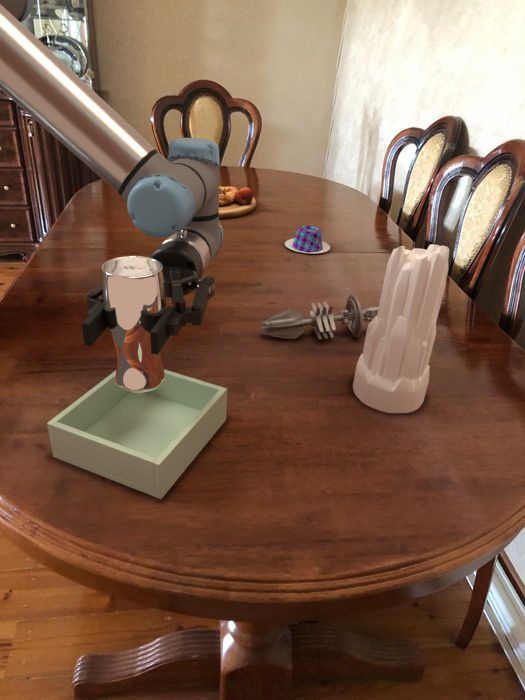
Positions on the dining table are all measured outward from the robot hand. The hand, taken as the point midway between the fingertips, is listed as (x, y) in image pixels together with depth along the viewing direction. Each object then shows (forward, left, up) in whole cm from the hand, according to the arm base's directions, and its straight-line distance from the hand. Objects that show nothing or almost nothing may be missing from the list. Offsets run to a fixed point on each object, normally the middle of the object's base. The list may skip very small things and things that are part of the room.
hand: (120, 338), depth 57 cm
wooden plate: (-48, +107, -18) cm, 119 cm away
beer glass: (-1, +5, -9) cm, 10 cm away
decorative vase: (+26, +30, -18) cm, 44 cm away
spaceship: (+16, +46, -18) cm, 52 cm away
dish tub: (-1, +4, -17) cm, 18 cm away
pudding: (-7, +87, -18) cm, 89 cm away
